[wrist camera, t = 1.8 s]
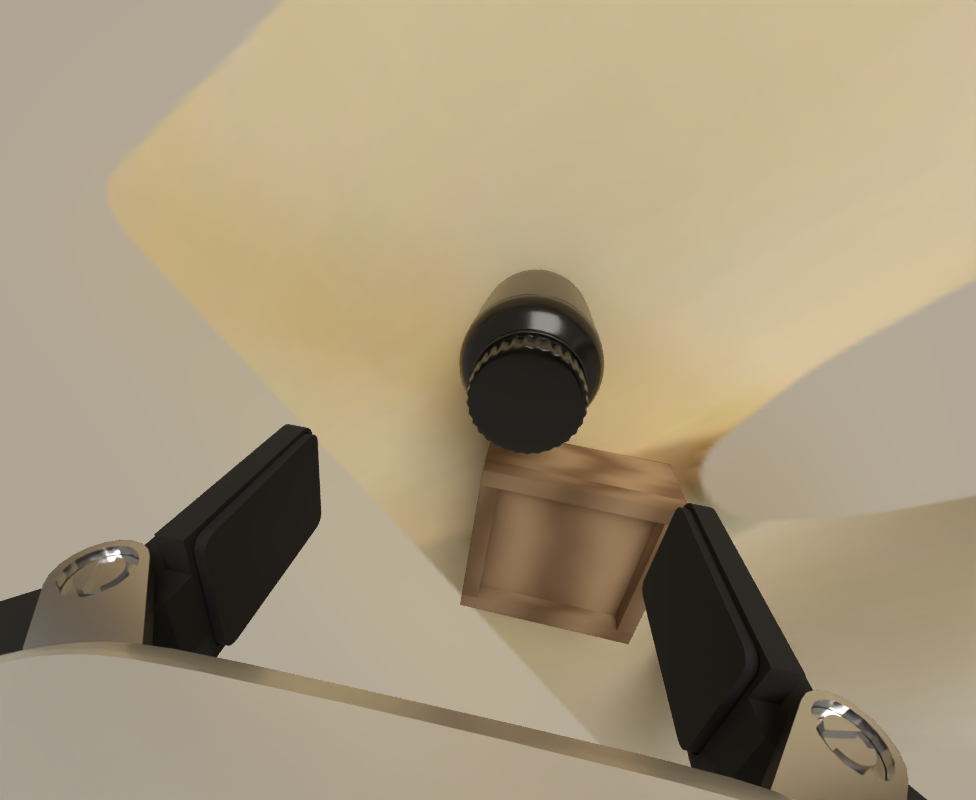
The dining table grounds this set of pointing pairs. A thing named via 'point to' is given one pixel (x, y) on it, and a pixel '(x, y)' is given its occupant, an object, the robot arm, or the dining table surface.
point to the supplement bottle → (531, 363)
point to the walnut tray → (568, 537)
